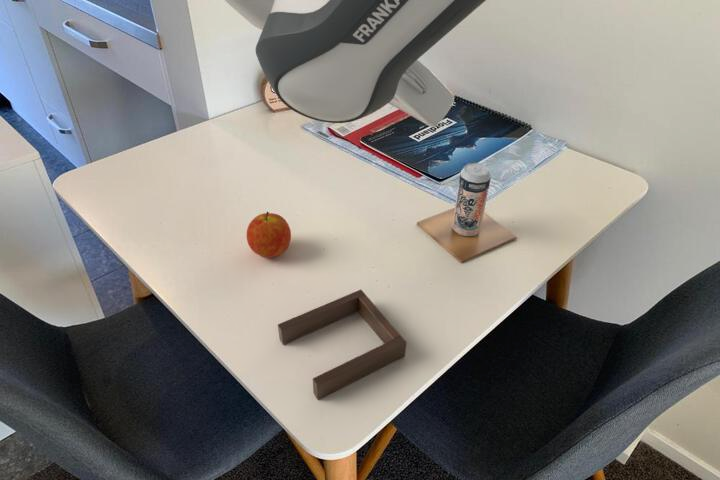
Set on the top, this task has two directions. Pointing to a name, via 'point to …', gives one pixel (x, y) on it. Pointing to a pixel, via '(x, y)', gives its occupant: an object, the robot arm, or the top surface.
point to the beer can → (471, 199)
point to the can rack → (359, 365)
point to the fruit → (268, 235)
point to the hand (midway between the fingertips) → (406, 104)
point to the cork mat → (465, 245)
